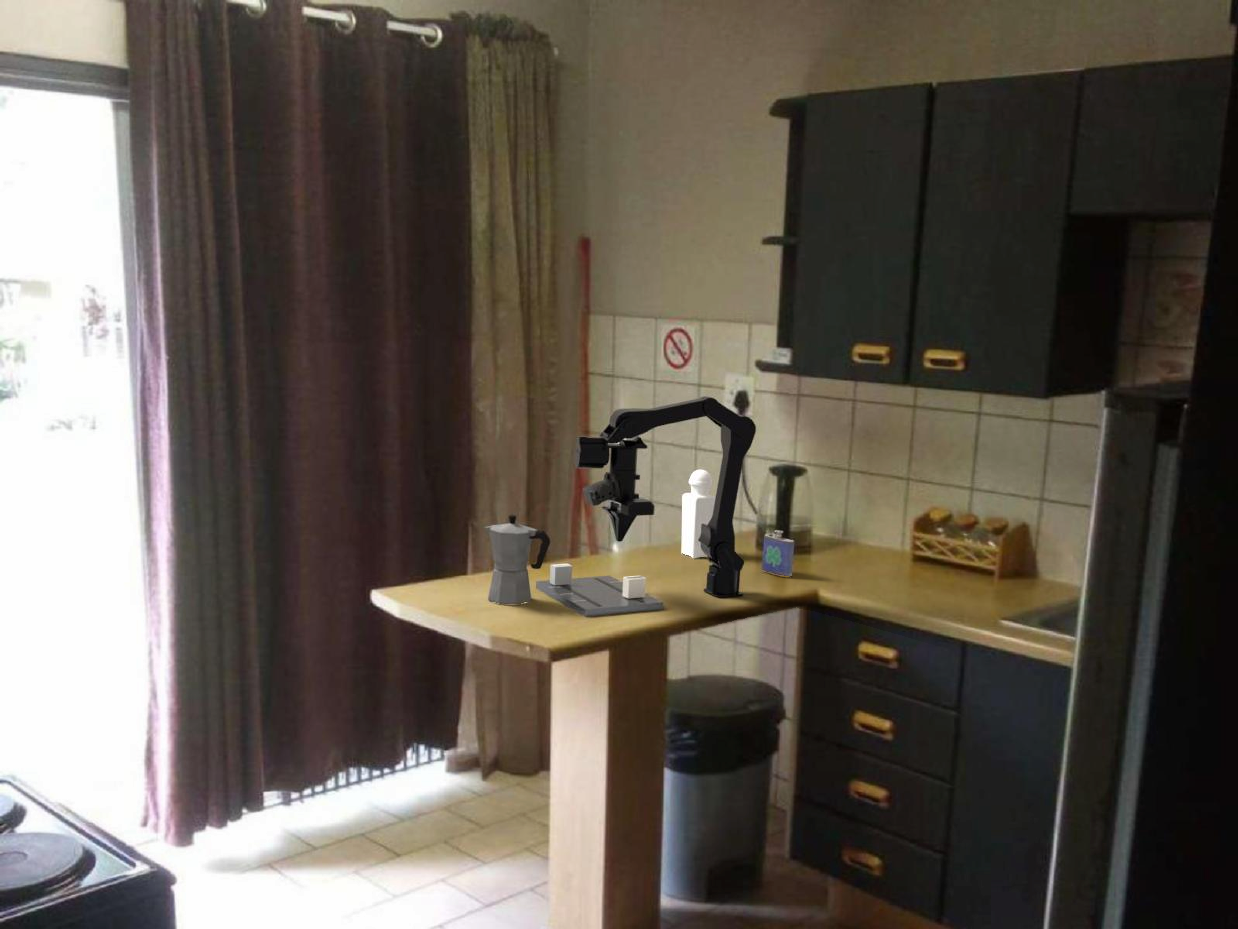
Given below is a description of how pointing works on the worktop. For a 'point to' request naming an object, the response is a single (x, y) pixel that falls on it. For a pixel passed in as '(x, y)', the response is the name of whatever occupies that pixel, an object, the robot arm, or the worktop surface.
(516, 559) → the coffeepot
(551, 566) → the block white
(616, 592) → the panel
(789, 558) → the flask
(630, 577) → the block
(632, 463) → the robot arm
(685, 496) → the white square decanter
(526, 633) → the worktop surface
